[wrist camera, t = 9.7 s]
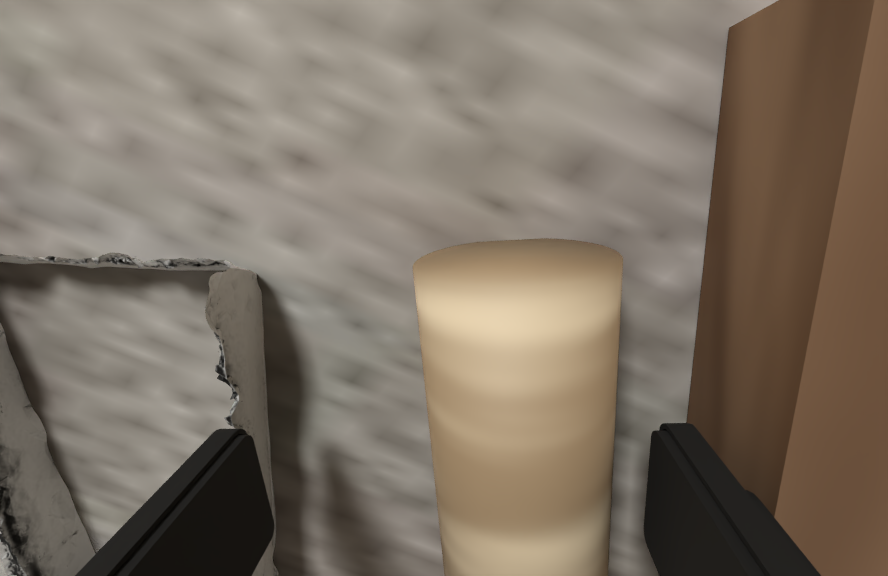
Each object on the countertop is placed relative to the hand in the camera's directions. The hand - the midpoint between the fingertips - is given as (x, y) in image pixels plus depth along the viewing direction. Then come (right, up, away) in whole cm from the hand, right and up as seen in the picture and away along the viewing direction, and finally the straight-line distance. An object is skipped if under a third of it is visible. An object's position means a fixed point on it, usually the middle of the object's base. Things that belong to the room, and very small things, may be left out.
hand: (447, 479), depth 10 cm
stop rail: (+7, +1, +1) cm, 7 cm away
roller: (+2, +1, +2) cm, 3 cm away
